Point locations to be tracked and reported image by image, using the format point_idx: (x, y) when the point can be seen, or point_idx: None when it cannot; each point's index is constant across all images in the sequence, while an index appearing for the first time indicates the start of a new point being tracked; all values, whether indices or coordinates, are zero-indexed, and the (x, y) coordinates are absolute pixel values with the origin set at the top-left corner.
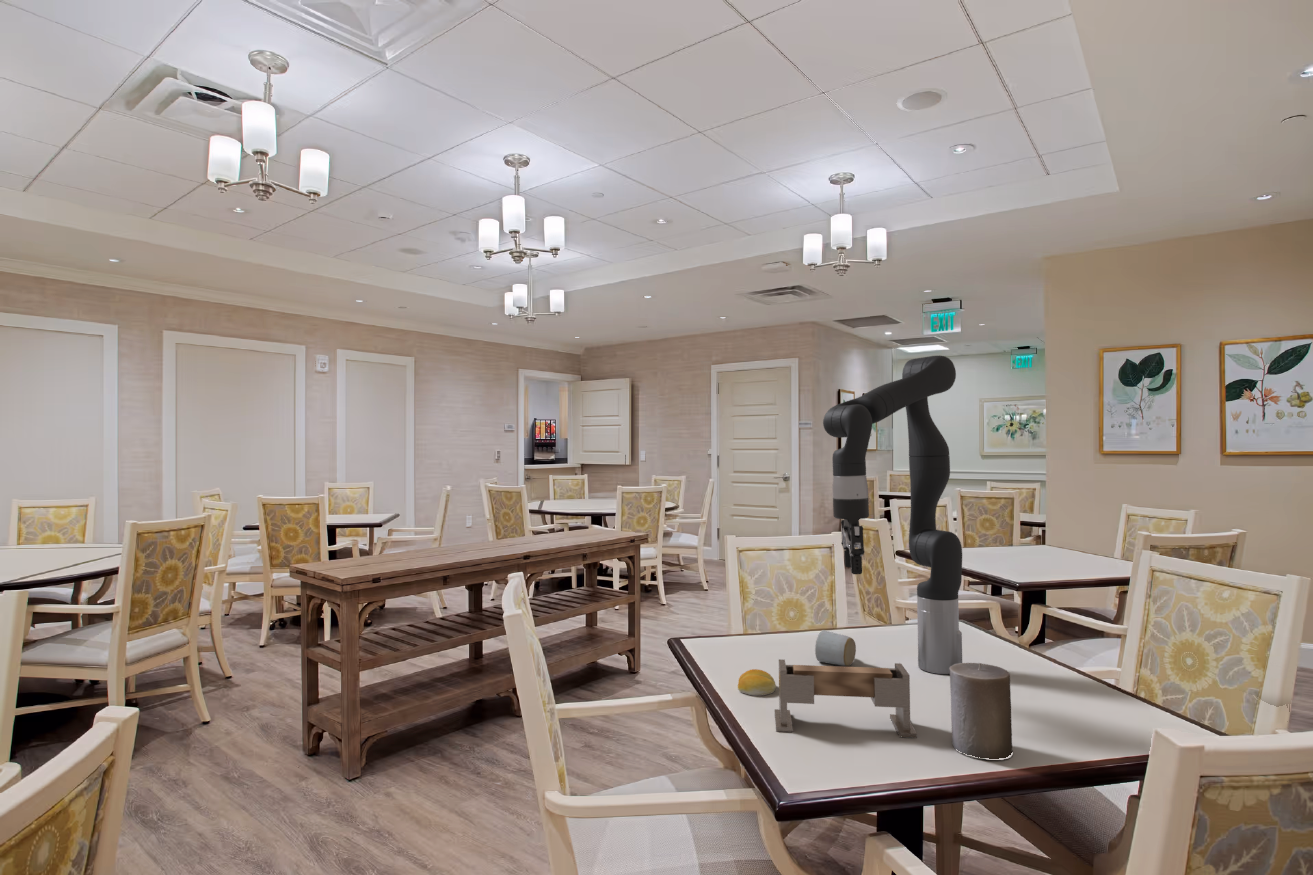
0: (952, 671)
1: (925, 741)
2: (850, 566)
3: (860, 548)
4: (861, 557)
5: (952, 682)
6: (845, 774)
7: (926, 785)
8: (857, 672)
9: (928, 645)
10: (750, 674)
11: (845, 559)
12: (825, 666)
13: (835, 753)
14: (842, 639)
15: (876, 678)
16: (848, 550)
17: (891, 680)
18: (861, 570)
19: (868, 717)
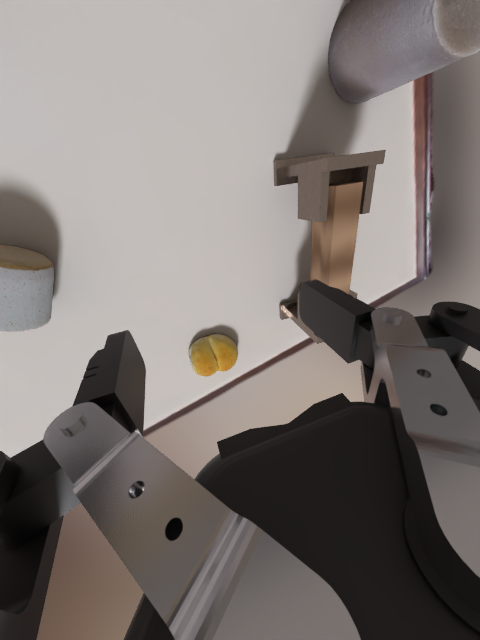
0: (469, 54)
1: (338, 142)
2: (137, 348)
3: (419, 341)
4: (368, 309)
5: (446, 64)
6: (398, 238)
7: (425, 162)
8: (355, 239)
9: None
10: (216, 367)
11: (143, 391)
12: (330, 285)
13: (363, 249)
14: (17, 279)
15: (366, 209)
16: (127, 424)
17: (372, 184)
18: (320, 284)
19: (275, 216)
